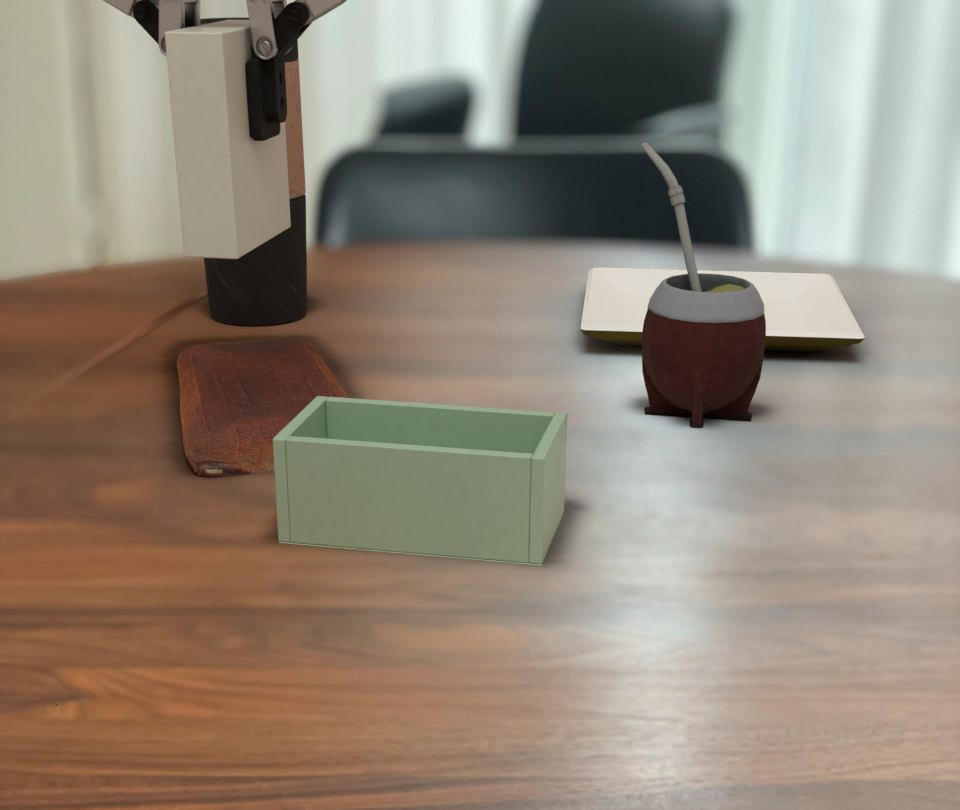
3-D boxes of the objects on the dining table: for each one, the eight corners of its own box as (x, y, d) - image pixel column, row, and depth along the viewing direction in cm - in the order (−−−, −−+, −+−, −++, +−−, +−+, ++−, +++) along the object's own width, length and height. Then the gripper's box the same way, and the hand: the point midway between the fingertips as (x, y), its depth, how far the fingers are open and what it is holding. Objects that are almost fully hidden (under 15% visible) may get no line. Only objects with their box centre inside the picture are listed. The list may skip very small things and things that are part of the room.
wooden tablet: (380, 478, 79) (379, 447, 78) (187, 490, 77) (184, 459, 76) (323, 345, 102) (322, 321, 102) (173, 352, 100) (171, 327, 100)
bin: (278, 551, 70) (272, 438, 67) (321, 501, 76) (316, 395, 73) (541, 574, 67) (544, 458, 65) (563, 520, 73) (567, 412, 71)
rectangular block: (241, 225, 87) (227, 19, 82) (291, 227, 86) (280, 20, 81) (183, 257, 79) (163, 31, 74) (237, 259, 78) (221, 32, 73)
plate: (587, 293, 117) (588, 266, 116) (830, 300, 116) (833, 273, 115) (579, 356, 100) (580, 326, 99) (862, 365, 99) (866, 335, 98)
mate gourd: (757, 441, 85) (783, 165, 78) (618, 432, 86) (632, 160, 79) (757, 402, 91) (781, 146, 85) (628, 395, 92) (642, 141, 86)
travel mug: (211, 329, 106) (188, 25, 97) (201, 304, 113) (180, 17, 104) (318, 323, 108) (305, 24, 99) (303, 299, 114) (290, 16, 106)
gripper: (390, -260, 74) (398, 131, 82) (79, -255, 77) (117, 123, 85) (347, -277, 67) (361, 151, 75) (9, -270, 70) (58, 141, 78)
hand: (232, 133), depth 80 cm, fingers closed on rectangular block, 3 cm apart
